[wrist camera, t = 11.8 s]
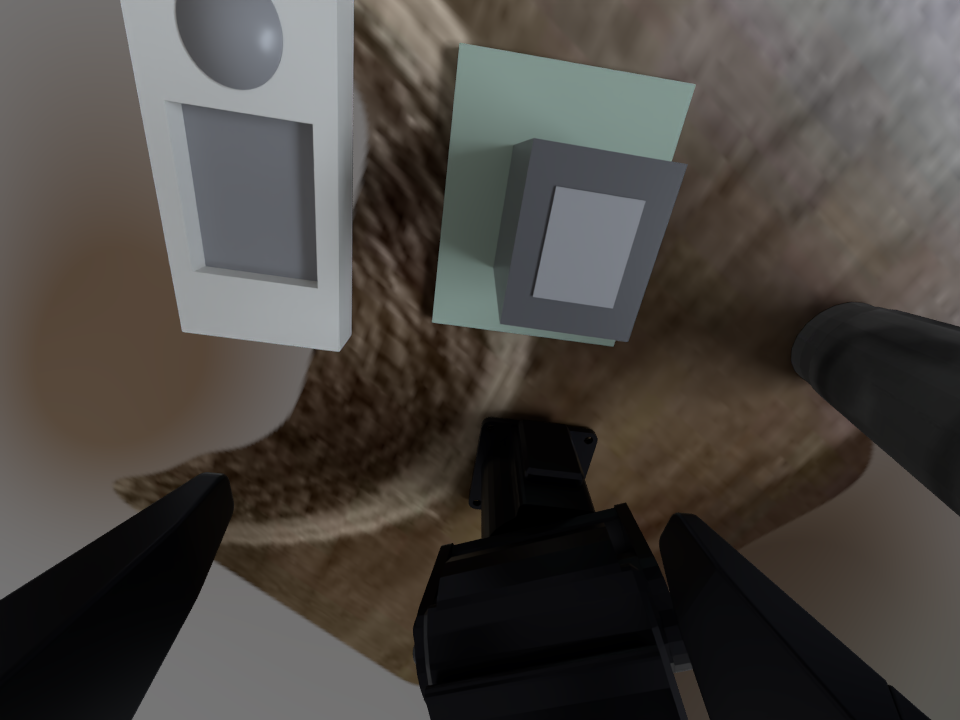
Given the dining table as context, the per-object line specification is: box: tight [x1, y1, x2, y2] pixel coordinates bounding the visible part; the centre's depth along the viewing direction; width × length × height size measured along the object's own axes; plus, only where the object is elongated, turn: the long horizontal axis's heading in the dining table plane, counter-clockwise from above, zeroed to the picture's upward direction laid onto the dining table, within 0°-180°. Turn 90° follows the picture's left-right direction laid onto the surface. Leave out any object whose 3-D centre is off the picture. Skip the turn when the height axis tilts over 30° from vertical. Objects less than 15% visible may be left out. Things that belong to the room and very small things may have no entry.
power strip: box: [120, 0, 354, 352], centre depth 15 cm, size 20×7×3 cm, turn 172°
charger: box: [493, 138, 688, 342], centre depth 15 cm, size 5×4×7 cm
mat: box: [432, 43, 696, 347], centre depth 18 cm, size 11×9×1 cm
